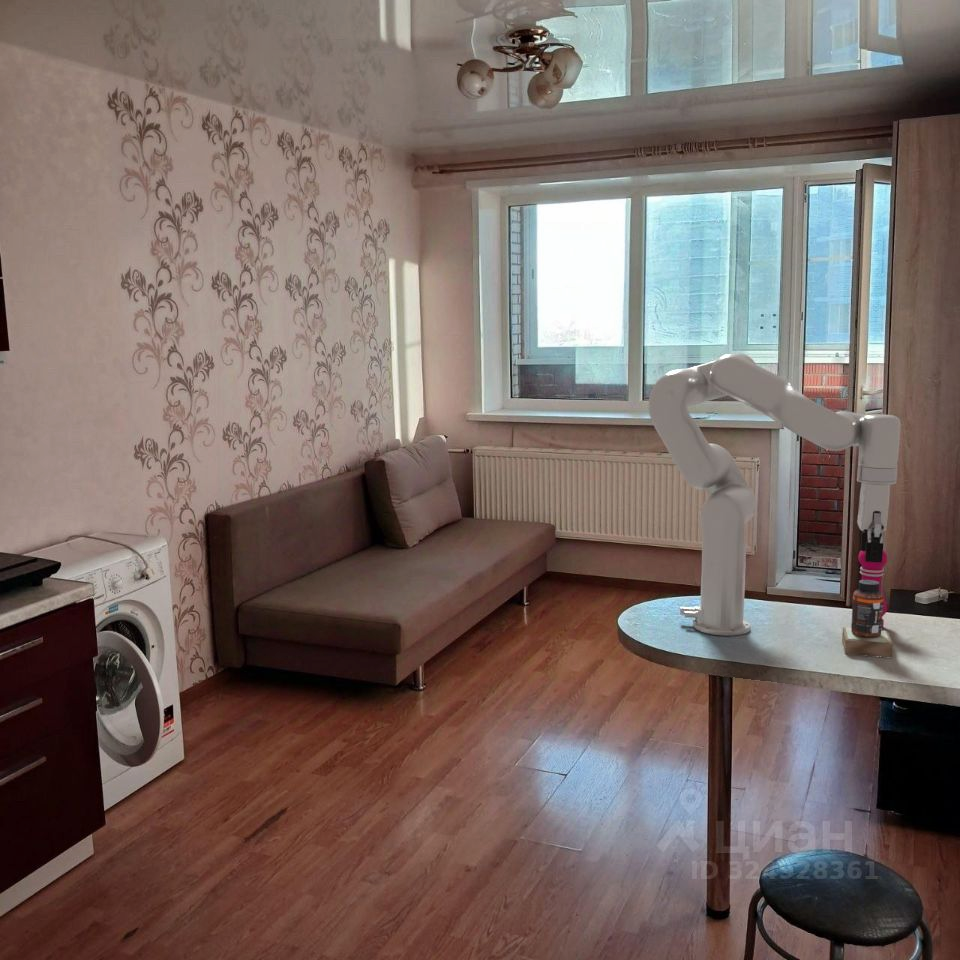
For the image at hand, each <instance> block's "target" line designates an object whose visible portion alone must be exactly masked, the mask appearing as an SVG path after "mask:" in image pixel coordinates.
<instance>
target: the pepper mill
mask: <svg viewBox="0 0 960 960" xmlns="http://www.w3.org/2000/svg"><path fill="white" fill-rule="evenodd" d="M858 553H859V554H858V557H857V558H858V561H859V564H860V565H861V566H860V568H859V569H860V571H859V573H860V574H861V580H873V581H877V582H879V591H880V592H881V593H882V594H883V595H884V593H883V590H882V585H881V584H882V577H883V576H884V575H885V573H884V571H885V569H884V566H886V564H887V563H888V556H887V555H888V554H887V553H886V551H885V550H884V549H883V556H882V562H881V563H877V562H866V561H865V551H861V550H860V551H859V552H858ZM887 610H888V605H887V602H886V599H885V596H884V597H883V615H882V617H884V616H885V614H887ZM884 623H885V621H884V619H883V618H882V629H884Z"/></svg>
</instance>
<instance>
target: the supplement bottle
mask: <svg viewBox="0 0 960 960" xmlns="http://www.w3.org/2000/svg"><path fill="white" fill-rule="evenodd" d="M882 593H883V592H882ZM882 593H881V592H880V591H879V582H877V581H873V580H862V579H860V580H859V581H858V589H857V590H854V592H853V594H852V609H851V610H852V611H851V627H850V628H851V631H852V633H854V634H855V635H857V636H862V637H878V636H880V635H881V631H882V629H883V628H882V619H883V616H884V615H883V597H884V598H885V596H884V593H883V594H882ZM882 615H883V616H882Z"/></svg>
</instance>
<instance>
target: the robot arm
mask: <svg viewBox="0 0 960 960" xmlns="http://www.w3.org/2000/svg"><path fill="white" fill-rule="evenodd" d="M727 396H728V397H731V398H732V399H734V400H736V401H739V402H740V403H742V404H745V405H746V406H748V407H750V408H752V409H753V410H756V411H758V412H760V413H762V414H764V415H765V416H768V417H769V418H770V419H772V420H773V421H774V422H776V423H778V424H779V425H781V426H783V427H784V428H786V429H788V430H789V431H790V432H792V433H794V434H795V435H797V436H799V437H801V438H802V439H805V440H807V441H808V442H811V443H813V444H814V445H817V446H818V447H821V448H823V449H824V450H828V451H833V452H840V451H843V450H844V451H845V450H846V449H847V448H849V447H858V459H857V460H858V461H857V474H856V481H857V482H858V483H861V484H860V491H859V493H860V494H859V503H858V514H857V520H856V523H857V526H858V528H859V530H860V531H861V542H860V551H865V561H866V562H877V563H881V562H882V556H883V550H884V542H883V541H884V532H886V531H887V525H888V519H889V518H888V516H889V507H890V506H889V505H890V494H891V493H890V491H891V485H895V484H897V480H898V477H897V476H898V464H899V454H900V453H899V452H900V441H901V440H900V437H901V424H902V423H901V419H900V418H899V417H897V416H896V415H892V414H883V413H881V414H879V413H873V414H864V413H858V412H853V411H852V412H851V411H847V410H845V411H843V410H842V411H836V412H835V411H833V410H831V409H829V408H828V407H825V406H823V405H821V404H819V403H818V402H815V401H814V400H811V398H808V397H807V396H806V395H804V394H803V393H802V392H801V391H800V390H799V389H798V388H797V387H796V385H795V384H794V383H793V382H791V381H790V380H788V379H786V378H784V377H782V376H780V375H778V374H776V373H773V372H771V371H770V370H768V369H765V368H764V367H761V366H759V365H758V364H757V363H756V361H754V360H753V358H751V356H749V355H747V354H743V353H728V354H723V355H722V356H720V357H718V358H717V359H716V360H713V361H709V362H707V363H703V364H699V365H695V366H693V367H688V368H680V369H679V368H678V369H674V370H670V371H668V372H666V373H664V374H662V375H661V376H660V377H659V378H658V379H657V381H656V382H655V384H654V385H653V387H652V390H651V391H650V394H649V399H648V413H649V417H650V420H651V422H652V425H653V426H654V429H655V431H656V433H657V434H658V435H659V438H660V439H661V441H662V442H663V444H664V446H665V447H666V450H667V452H668V453H669V456H670V457H671V459H672V461H673V462H674V464H675V466H676V467H677V469H678V470H679V472H680V475H681V476H682V479H683V480H684V482H685V483H686V484H687V486H689V487H691V488H692V489H695V490H704V491H705V494H706V495H707V496H708V497H707V498H705V500H704V502H703V504H702V507H701V511H700V525H701V528H700V530H701V541H702V543H701V574H700V575H701V581H700V583H701V584H700V603H699V605H698V606H694V607H688V606H680V607H679V615H680V616H684V618H693V620H692V627H693V628H694V629H695V630H697V631H699V632H701V633H705V634H708V635H713V636H728V637H729V636H730V637H731V636H732V637H733V636H739V635H744V634H747V633H749V632H750V631H751V624H750V622H748V621H747V620H745V619H744V617H745V616H744V614H745V593H746V591H745V590H746V589H745V588H746V569H747V568H746V566H747V561H746V559H747V539H746V524H747V523H748V522H750V521H751V519H753V518H754V516H755V514H756V511H757V507H758V505H757V504H758V503H757V498H756V495H755V494H754V491H753V489H752V487H751V486H750V484H749V482H748V481H747V480H746V477H745V475H744V474H743V473H742V471H741V469H740V468H739V466H738V463H737V462H736V461H735V459H734V457H733V456H732V454H731V453H730V452H729V451H728V450H727V449H726V448H724V447H723V446H721V445H719V444H716V443H709V441H708V440H707V439H706V437H705V436H704V434H703V432H702V430H701V427H700V426H699V425H698V424H697V422H696V421H695V419H694V418H693V417H692V416H691V415H690V413H689V410H688V407H689V406H694V405H697V404H702V403H705V402H709V401H713V400H715V399H716V400H717V399H719V398H723V397H727Z"/></svg>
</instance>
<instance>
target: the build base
mask: <svg viewBox="0 0 960 960" xmlns="http://www.w3.org/2000/svg"><path fill="white" fill-rule="evenodd" d="M841 633H842V635H841V642H842V643H841V644H842V645H843V646H842V647H844V648H843V650H844V655H850V654H851V655H852V656H853V655H854V656H861V655H867V656H866V657H872V656H879V657H878V658H884V657H892V658H893V645H894V644H893V642H892V639H891V636H890V633H889V631H888V630H882V631H881V635H880V636H878V637H862V636H857V635H855V634H854V633H852V631H851V627H842V632H841ZM880 656H881V657H880Z"/></svg>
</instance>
